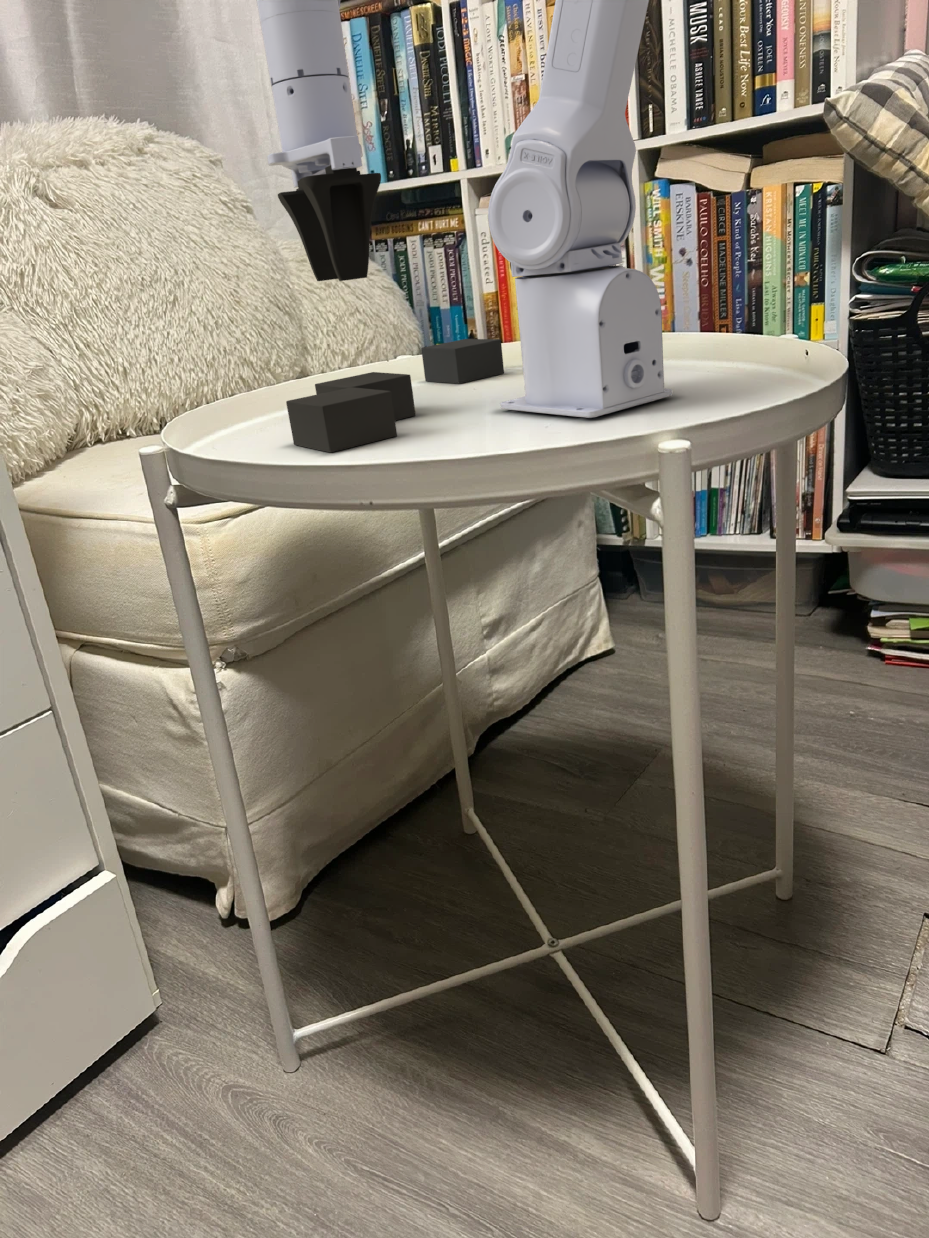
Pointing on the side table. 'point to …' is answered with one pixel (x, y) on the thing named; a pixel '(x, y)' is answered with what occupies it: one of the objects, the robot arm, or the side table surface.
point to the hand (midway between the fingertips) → (341, 279)
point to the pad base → (463, 360)
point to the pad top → (379, 381)
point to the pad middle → (342, 419)
